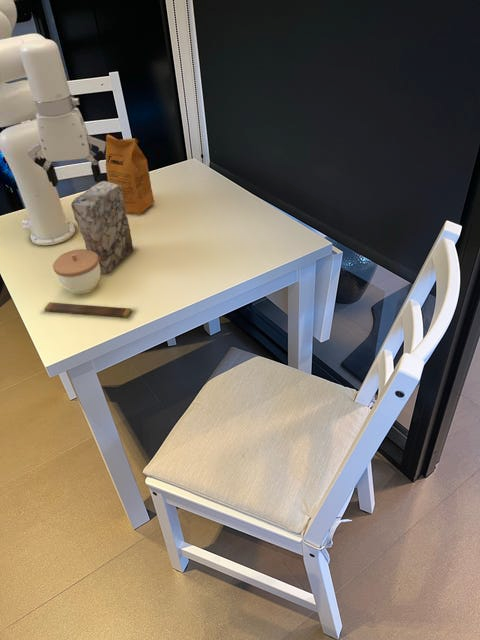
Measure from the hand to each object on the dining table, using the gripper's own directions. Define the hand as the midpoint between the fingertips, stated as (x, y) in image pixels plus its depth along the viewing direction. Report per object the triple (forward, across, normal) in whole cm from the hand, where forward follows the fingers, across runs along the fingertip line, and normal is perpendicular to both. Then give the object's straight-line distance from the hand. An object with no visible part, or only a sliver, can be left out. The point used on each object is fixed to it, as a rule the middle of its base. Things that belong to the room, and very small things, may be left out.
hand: (76, 182), depth 120 cm
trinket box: (+24, +4, +8) cm, 26 cm away
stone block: (+24, -3, -3) cm, 25 cm away
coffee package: (+24, -7, -34) cm, 42 cm away
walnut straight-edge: (+24, +1, +18) cm, 30 cm away
